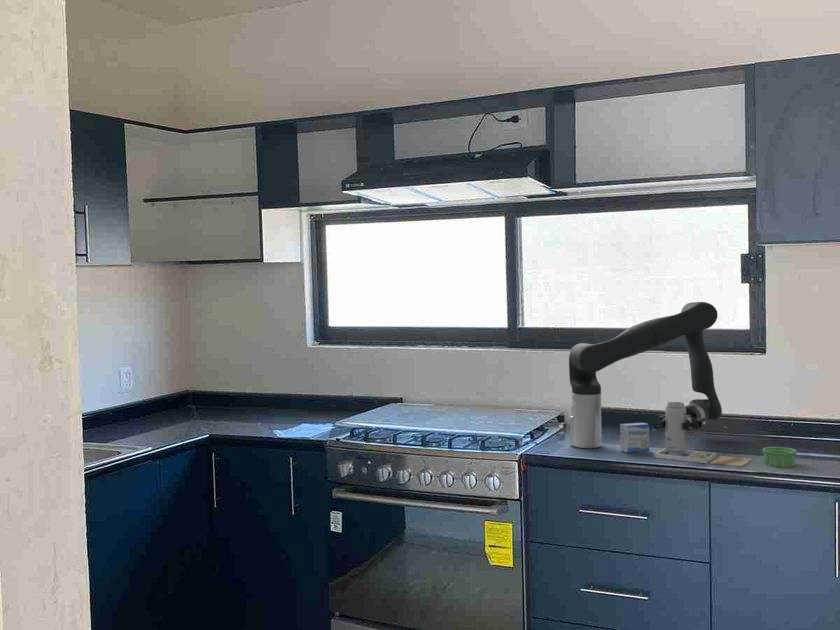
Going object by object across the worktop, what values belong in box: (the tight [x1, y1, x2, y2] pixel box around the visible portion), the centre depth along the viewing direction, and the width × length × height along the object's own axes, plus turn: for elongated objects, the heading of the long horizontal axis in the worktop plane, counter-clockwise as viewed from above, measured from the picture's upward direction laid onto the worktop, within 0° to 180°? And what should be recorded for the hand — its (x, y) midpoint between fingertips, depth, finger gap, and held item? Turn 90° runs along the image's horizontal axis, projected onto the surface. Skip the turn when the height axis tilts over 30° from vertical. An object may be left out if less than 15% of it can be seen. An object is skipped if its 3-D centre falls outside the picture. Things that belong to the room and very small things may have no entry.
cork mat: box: [709, 455, 753, 469], centre depth 244 cm, size 9×11×1 cm
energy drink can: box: [664, 401, 687, 455], centre depth 252 cm, size 6×6×15 cm
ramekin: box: [762, 446, 798, 468], centre depth 240 cm, size 9×9×4 cm
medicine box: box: [619, 422, 650, 454], centre depth 261 cm, size 8×4×9 cm, turn 105°
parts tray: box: [653, 447, 718, 464], centre depth 251 cm, size 16×10×1 cm, turn 55°
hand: (673, 425), depth 250 cm, fingers closed on energy drink can, 6 cm apart
